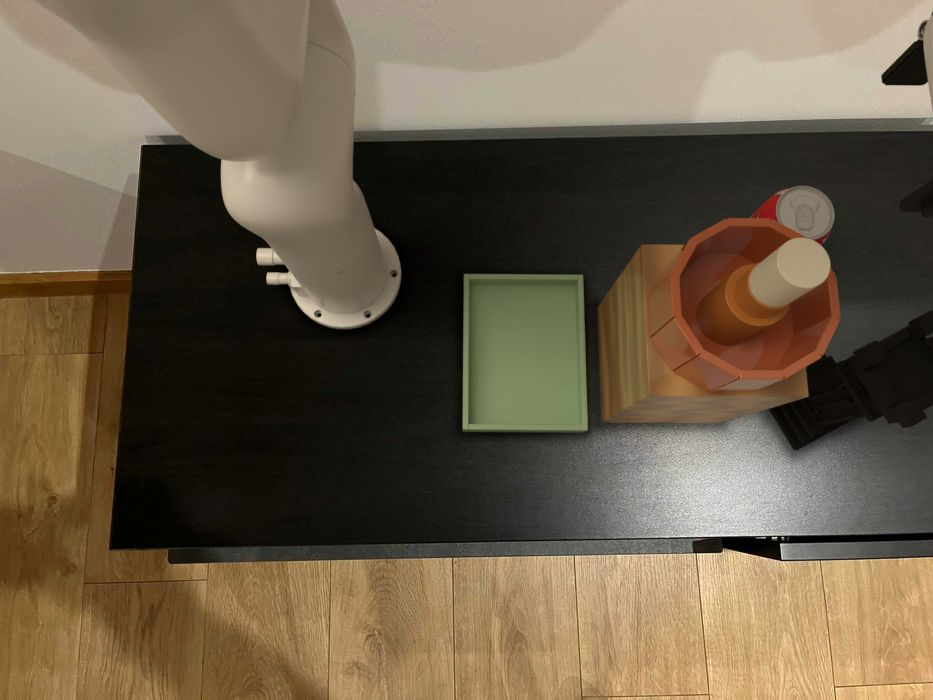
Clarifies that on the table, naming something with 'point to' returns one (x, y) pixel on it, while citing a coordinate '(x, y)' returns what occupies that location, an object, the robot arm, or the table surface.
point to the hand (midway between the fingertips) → (910, 143)
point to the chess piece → (865, 386)
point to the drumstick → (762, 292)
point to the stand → (662, 360)
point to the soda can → (800, 211)
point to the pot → (763, 353)
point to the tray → (524, 353)
